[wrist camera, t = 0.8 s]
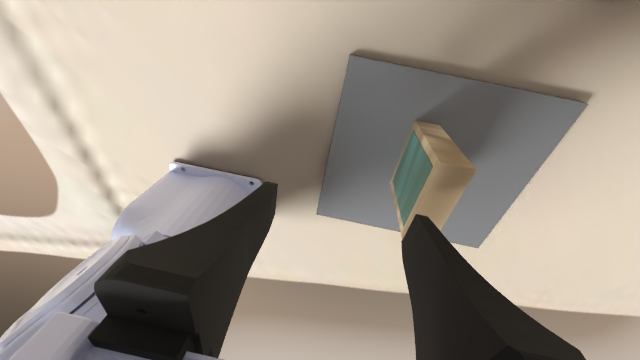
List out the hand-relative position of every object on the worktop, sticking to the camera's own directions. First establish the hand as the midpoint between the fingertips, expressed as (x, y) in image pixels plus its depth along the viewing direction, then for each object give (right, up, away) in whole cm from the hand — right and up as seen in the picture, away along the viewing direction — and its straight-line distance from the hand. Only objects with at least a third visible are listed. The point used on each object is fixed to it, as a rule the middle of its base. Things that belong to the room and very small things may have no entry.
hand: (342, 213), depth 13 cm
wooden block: (+7, +4, +8) cm, 11 cm away
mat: (+8, +3, +9) cm, 13 cm away
